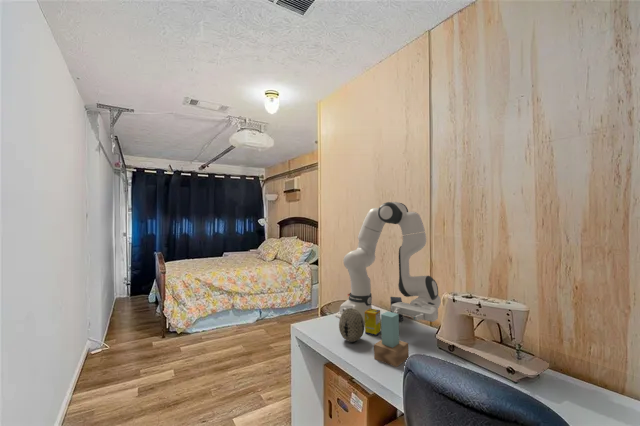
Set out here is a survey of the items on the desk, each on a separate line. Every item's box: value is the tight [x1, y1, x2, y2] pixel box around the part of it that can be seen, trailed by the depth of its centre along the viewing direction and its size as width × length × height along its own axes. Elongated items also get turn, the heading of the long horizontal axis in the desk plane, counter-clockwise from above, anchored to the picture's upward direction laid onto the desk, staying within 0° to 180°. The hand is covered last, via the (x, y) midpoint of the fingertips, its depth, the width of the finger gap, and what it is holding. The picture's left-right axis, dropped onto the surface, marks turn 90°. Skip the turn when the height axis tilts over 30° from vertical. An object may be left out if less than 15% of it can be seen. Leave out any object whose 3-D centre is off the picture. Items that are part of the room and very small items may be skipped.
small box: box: [390, 296, 404, 322], centre depth 163 cm, size 11×6×10 cm, turn 168°
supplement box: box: [364, 308, 382, 337], centre depth 143 cm, size 6×6×11 cm
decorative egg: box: [338, 308, 365, 343], centre depth 135 cm, size 12×12×15 cm
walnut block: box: [373, 339, 410, 368], centre depth 118 cm, size 10×10×6 cm
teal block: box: [380, 311, 400, 348], centre depth 118 cm, size 5×5×12 cm
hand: (404, 315), depth 126 cm, fingers open, 8 cm apart
